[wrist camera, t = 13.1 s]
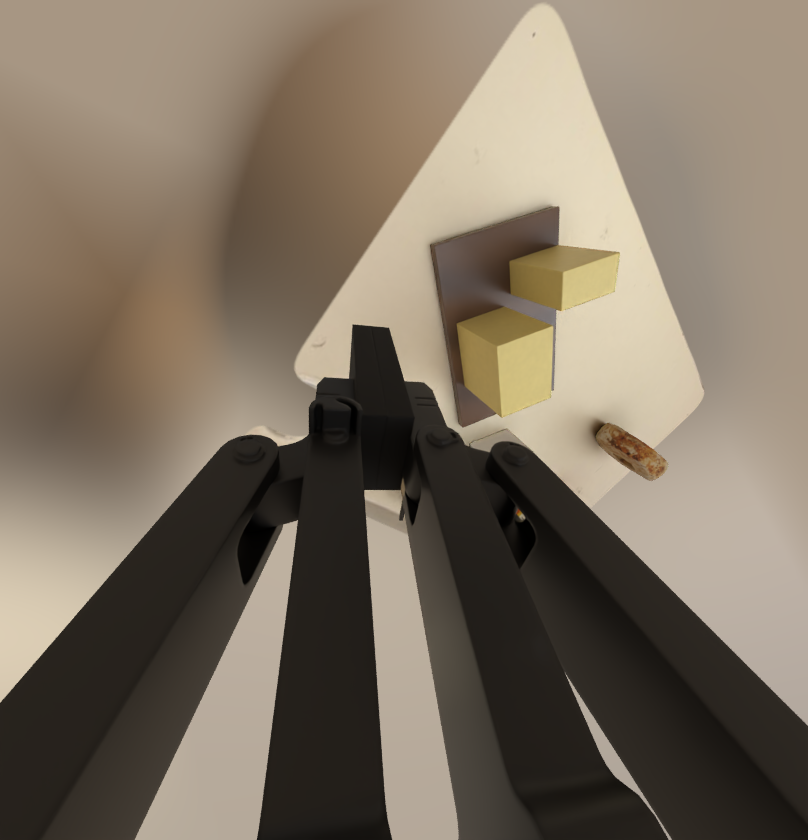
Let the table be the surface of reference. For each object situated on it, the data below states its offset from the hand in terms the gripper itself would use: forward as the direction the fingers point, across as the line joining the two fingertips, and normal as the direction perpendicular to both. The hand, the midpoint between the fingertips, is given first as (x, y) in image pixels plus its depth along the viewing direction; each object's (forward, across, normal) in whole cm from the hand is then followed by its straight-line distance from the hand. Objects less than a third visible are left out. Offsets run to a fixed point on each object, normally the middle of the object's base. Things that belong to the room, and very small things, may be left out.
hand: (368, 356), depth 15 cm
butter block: (+22, +15, -8) cm, 28 cm away
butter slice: (+24, +19, +1) cm, 31 cm away
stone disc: (+27, +43, -23) cm, 56 cm away
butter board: (+24, +18, -6) cm, 30 cm away
